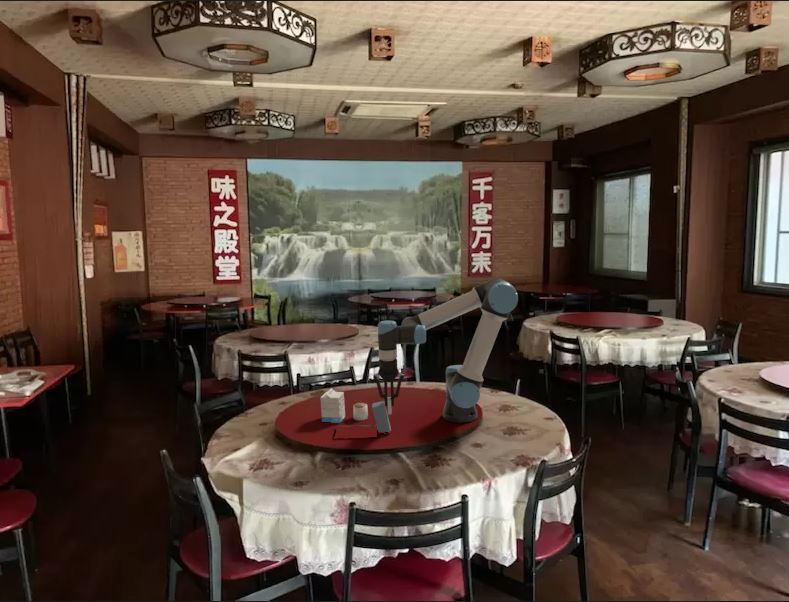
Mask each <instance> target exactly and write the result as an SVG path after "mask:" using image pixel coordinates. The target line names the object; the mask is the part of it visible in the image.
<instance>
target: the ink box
mask: <svg viewBox="0 0 789 602" xmlns="http://www.w3.org/2000/svg"><path fill="white" fill-rule="evenodd" d="M344 395H345V392H344V391H335V390H334V389H333V388H332V387H331V388H330V389H329V390H328V391H326V392H324V394H322V395H321V396H320V410H321V422H331V423H330V424H341V423H340V422H342V421H343V420H344V419H345V418H346V410H345V409H346V407H345V396H344Z"/></svg>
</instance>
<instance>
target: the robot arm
mask: <svg viewBox="0 0 789 602" xmlns="http://www.w3.org/2000/svg"><path fill="white" fill-rule="evenodd" d="M518 302H519V295H518V291H517V290H516V288H515V287H514V285H513V284H511V283H509V282H508V281H507V280H505V279H503V278H501V277H500V278H497V277H495V278H490V279H489V280H486V281H485V282H482V283H480V284H478V285H476V286H474V287H472V289H471V290H470V291H468V292H466V293H464V294H461V295H459V296H457V297H455V298H452V299H450V300H448V301H446V302H444V303H440V304H439V305H437V306H434V307H432V308H430V309H427V310H425V311H423V312H421V313H418V314H416V315H413V316H407V317H405V318H404V319H403V320H402V322H401V325H397V322H396V321H394V320H390V319H389V320H382V321H380V322H378V324H377V340H378V341H377V344H378V345H377V346H378V359H379V360H378V368H379V369H378V372H376V374H373V377H372V378H373V380H374V381H375V383H376V388H377V390H378V394H379V398H380V399H384V402H385V406H386V407H387V414H388V416H389V415H392V413H393V412H392V407H394V406H395V398H398V397H399V395H400V390H401V385H402V381H403V379H404V378H405V374H404V373H401V372H400V371H399V368H398V359H397V358H398V345H420V344H425V343H426V342H427V330H430V329H431V328H434V327H437V326H439V325H442V324H444V323H446V322H448V321H450V320H452V319H455V318H457V317H459V316H462V315H464V314H466V313H467V314H468V312H471V311H473V310H476V309H478V308H479V309H480V311H481V312H482V315H481V317H480V320H479V321H478V324H477V327H476V329H475V332H474V335H473V337H472V340H471V343H470V344H469V345H470V346H469V348H468V350H467V352H466V356H465V358H464V361H463V364H454V365H449V366H447V367H446V369H445V387H446V389H445V390H446V391H445V394H446V400H445V403H444V407H443V410H442V418H443V420H446V421H448V422H451V423H459V424H461V423H462V422H464V423H469V422H473V421H475V420H476V419H477V418H478V411H477V407H476V404H478V402H479V401H480V399H481V392H480V389H482V388H481V387H482V385H483V383H484V378H483V372H484V370H485V366H486V365H487V362H488V359H489V356H490V354H491V352H492V349H493V347H494V345H495V341H496V339H497V337H498V333H499V331H500V329H501V326H502V323H503V322H504V321H506V320H508V319H509V317H510V314H511V312H512V311H513V310H514V309H515V308H516V307H517V305H518ZM380 378H381V379H382V380H383V381H384V382H383V385H384V386H383V389H384V392H383V390H382V384H381V382H380ZM396 378H398V381H397V384H396V389H394V380H396ZM388 381H389V383H390V384H389V385H390V397H389V395H388ZM394 390H395V391H394Z"/></svg>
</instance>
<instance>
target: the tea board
mask: <svg viewBox="0 0 789 602" xmlns="http://www.w3.org/2000/svg"><path fill="white" fill-rule="evenodd" d="M369 426H370V427H372V426H375V427H376V426H377V425H376V424H366V425H365V424H364V425H363V424H362V425H361V424H360V425H340V426H339V425H337V426H335V428H336V427H369Z"/></svg>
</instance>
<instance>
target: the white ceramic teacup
mask: <svg viewBox="0 0 789 602" xmlns="http://www.w3.org/2000/svg"><path fill="white" fill-rule="evenodd" d="M368 407H369V406H368V404H367V403H365V402H356V403H355V404H353V406H352V410H353V411H352V412H353V414H352V416H353V419H354V420H355V421H365V419H366V420H367V419H368V418H369V412H368V411H369V410H368Z"/></svg>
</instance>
